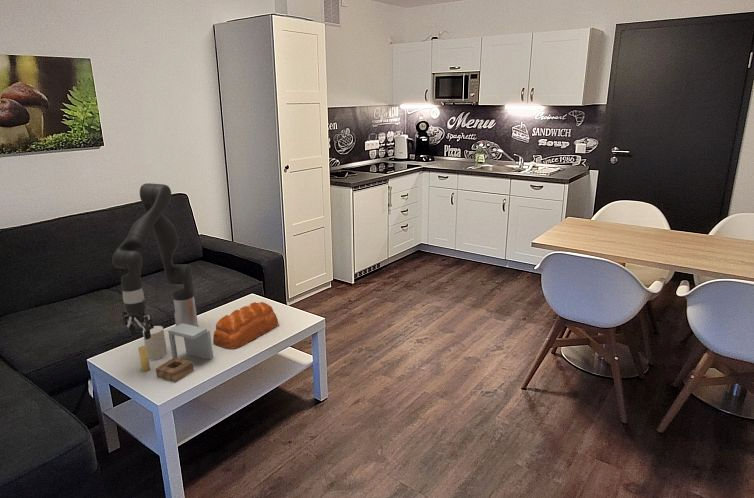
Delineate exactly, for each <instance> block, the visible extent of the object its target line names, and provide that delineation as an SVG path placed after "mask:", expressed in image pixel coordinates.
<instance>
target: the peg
mask: <svg viewBox="0 0 754 498" xmlns="http://www.w3.org/2000/svg"><path fill="white" fill-rule="evenodd" d="M138 354H139V355H138V356H139V361H140V366H141V367H140V368H141V371H142V372H144V373H145V372H148V371H150V370H151V368H150V359H148V354H147V348H146V346H145V345H144V346H143V345H141V346H139V347H138Z"/></svg>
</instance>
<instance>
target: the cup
mask: <svg viewBox="0 0 754 498" xmlns="http://www.w3.org/2000/svg"><path fill="white" fill-rule="evenodd" d="M153 326H154V328H153V329H151V330H150V334H151V338H149V339H147V340H146V339H145V336H144V330H143V329H142V337H143V341H144V346H146V348H147V354H148V360H149V361H150V360H151V361H157V360H160V359H162V358H165V357H166V356H167V355H168V351H167V343H166V342H167V341H166V338H165V331H164V327H163V326H162V325H153Z"/></svg>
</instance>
